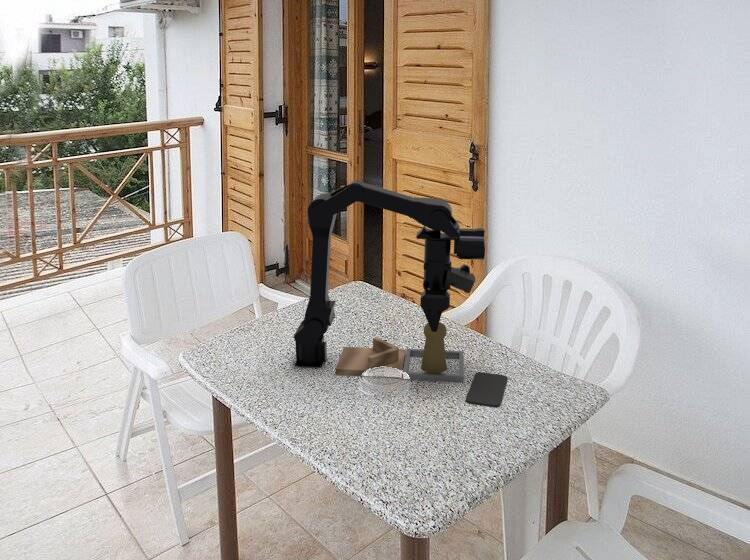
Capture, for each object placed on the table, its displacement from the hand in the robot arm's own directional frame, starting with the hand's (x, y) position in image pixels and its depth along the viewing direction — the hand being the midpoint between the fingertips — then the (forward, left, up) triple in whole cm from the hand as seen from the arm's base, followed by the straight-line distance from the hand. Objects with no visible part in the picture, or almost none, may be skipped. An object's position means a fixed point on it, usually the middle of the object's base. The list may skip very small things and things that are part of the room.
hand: (434, 323), depth 163 cm
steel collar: (0, 0, -11) cm, 11 cm away
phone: (+12, -10, -12) cm, 19 cm away
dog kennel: (-15, 0, -11) cm, 19 cm away
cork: (0, 0, -11) cm, 11 cm away
